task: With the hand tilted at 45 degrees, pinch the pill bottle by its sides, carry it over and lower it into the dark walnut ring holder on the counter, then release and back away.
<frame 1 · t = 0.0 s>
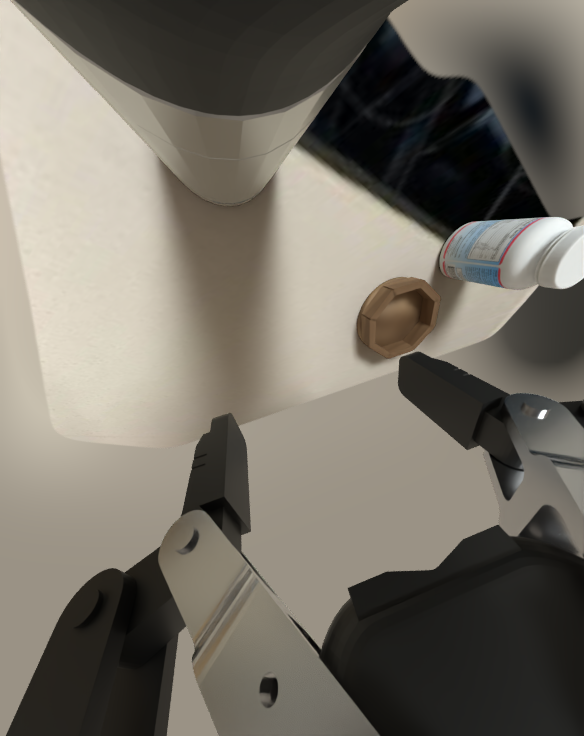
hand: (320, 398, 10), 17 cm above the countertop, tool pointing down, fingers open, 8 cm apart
pill bottle: (457, 250, 26), on the countertop
walnut ring holder: (390, 316, 29), on the countertop
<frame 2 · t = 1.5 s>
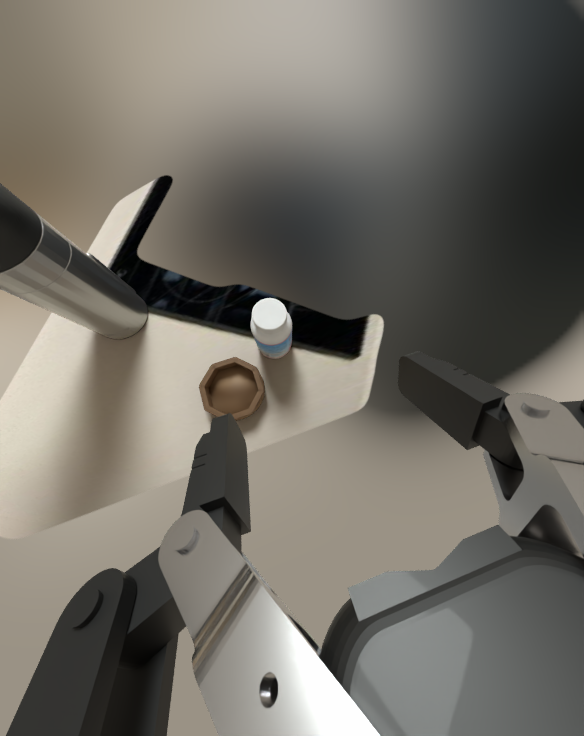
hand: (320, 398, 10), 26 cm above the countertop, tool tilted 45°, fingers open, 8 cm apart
pill bottle: (274, 343, 38), on the countertop
walnut ring holder: (235, 390, 36), on the countertop
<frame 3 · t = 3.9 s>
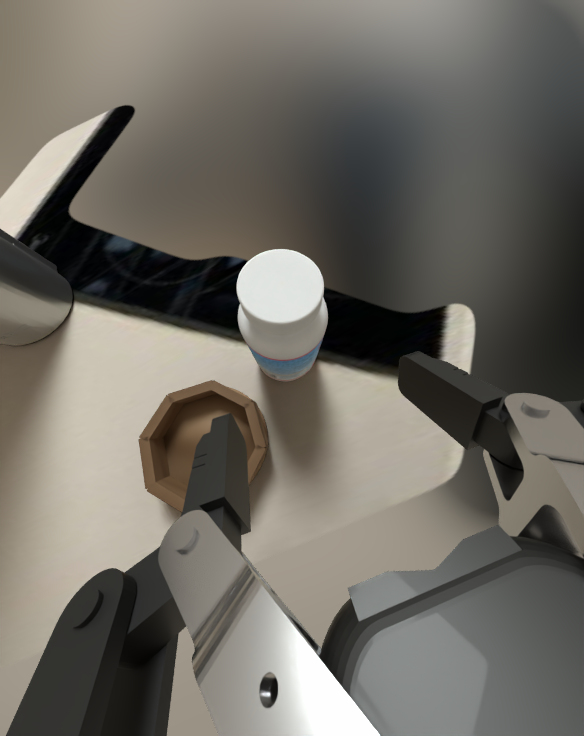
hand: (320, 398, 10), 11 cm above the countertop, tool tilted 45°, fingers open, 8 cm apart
pill bottle: (286, 354, 22), on the countertop
walnut ring holder: (214, 440, 19), on the countertop
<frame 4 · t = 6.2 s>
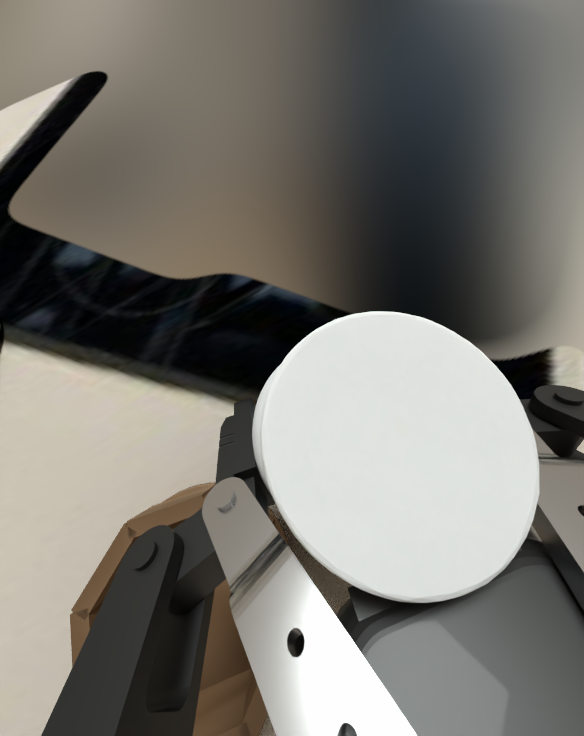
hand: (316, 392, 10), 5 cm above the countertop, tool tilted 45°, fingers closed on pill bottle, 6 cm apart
pill bottle: (317, 425, 14), on the countertop, touching gripper
walnut ring holder: (207, 578, 12), on the countertop
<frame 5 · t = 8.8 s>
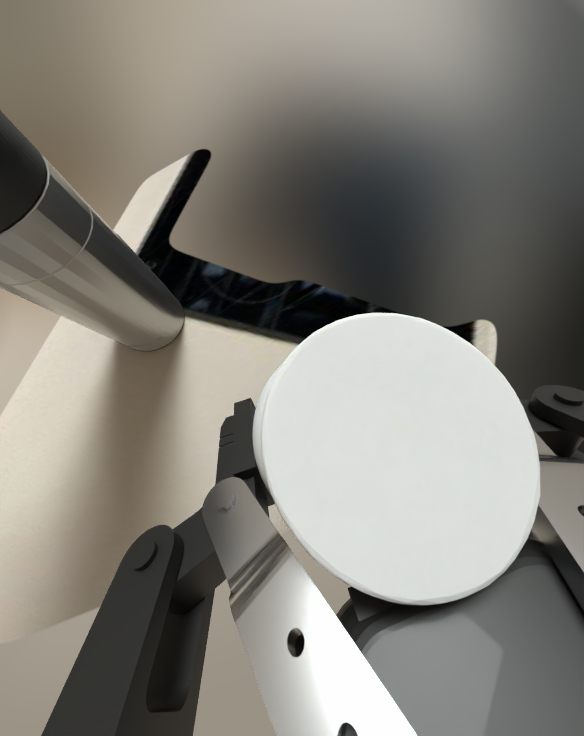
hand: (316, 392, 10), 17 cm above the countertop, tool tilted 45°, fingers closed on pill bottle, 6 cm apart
pill bottle: (317, 426, 14), point 12 cm above the countertop, touching gripper
when the fingers open (7 cm above the countertop, at t = 11.6 s): pill bottle drops 1 cm, resting on walnut ring holder.
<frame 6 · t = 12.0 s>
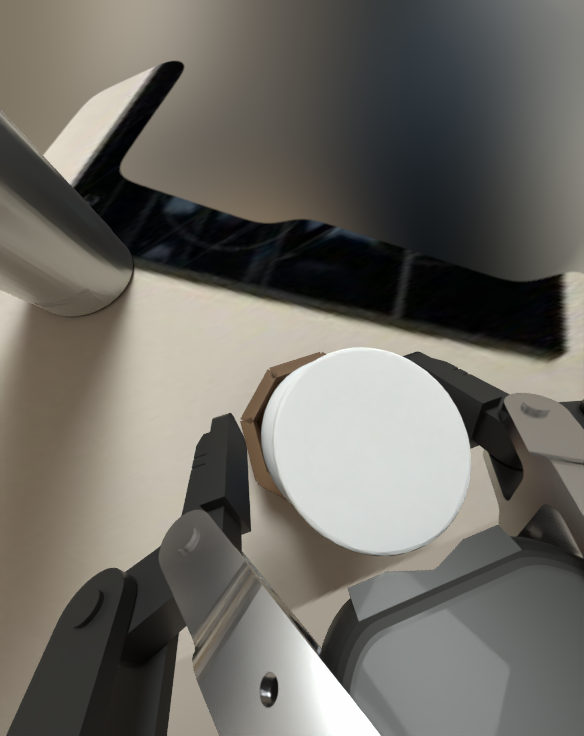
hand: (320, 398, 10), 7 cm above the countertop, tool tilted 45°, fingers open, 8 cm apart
pill bottle: (315, 427, 16), point 1 cm above the countertop, touching walnut ring holder
walnut ring holder: (313, 425, 16), on the countertop
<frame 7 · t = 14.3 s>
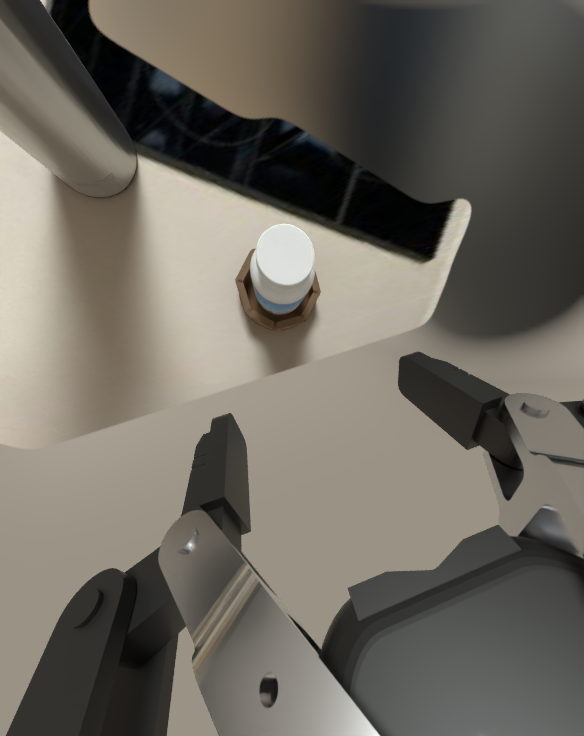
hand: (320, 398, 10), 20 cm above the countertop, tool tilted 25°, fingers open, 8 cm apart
pill bottle: (278, 292, 27), point 1 cm above the countertop, touching walnut ring holder
walnut ring holder: (277, 292, 28), on the countertop
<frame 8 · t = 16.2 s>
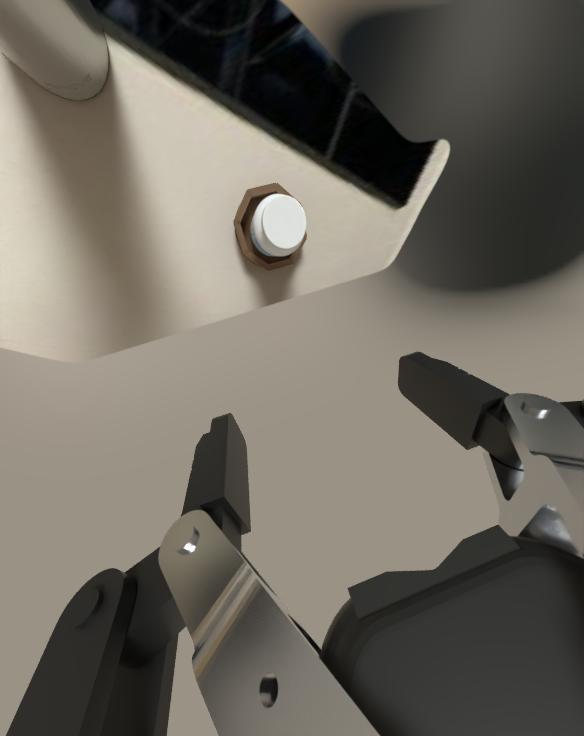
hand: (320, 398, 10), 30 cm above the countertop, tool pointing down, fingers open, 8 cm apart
pill bottle: (270, 232, 31), point 1 cm above the countertop, touching walnut ring holder
walnut ring holder: (269, 231, 31), on the countertop
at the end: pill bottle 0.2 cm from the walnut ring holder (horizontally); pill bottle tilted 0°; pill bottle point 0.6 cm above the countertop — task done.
